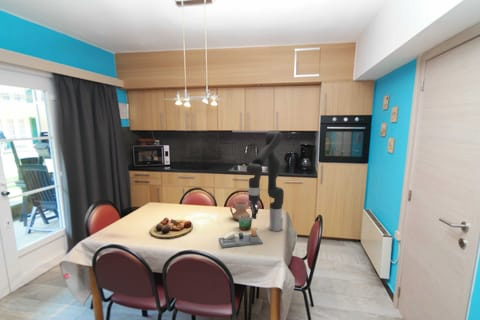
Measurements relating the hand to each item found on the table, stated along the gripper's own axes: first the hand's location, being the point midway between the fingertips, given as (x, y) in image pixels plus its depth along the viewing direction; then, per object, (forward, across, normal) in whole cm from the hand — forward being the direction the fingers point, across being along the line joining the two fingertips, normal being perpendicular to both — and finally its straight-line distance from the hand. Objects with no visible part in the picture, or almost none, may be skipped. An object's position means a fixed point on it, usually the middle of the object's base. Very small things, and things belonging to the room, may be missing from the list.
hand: (254, 218), depth 159 cm
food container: (+17, +21, +2) cm, 27 cm away
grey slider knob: (+16, 0, +12) cm, 20 cm away
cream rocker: (+14, +6, +16) cm, 22 cm away
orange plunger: (+13, 0, 0) cm, 13 cm away
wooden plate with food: (+18, +33, +56) cm, 68 cm away
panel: (+17, +2, +9) cm, 19 cm away
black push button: (+16, +6, +8) cm, 18 cm away
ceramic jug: (+17, +42, 0) cm, 45 cm away
